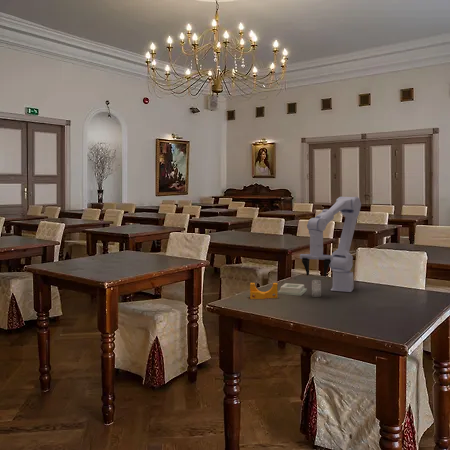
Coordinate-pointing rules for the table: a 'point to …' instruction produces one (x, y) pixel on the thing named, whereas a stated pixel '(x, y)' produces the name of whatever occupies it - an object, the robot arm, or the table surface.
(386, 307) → the table surface
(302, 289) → the socket
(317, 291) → the grey cylinder
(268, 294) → the pipe clamp
